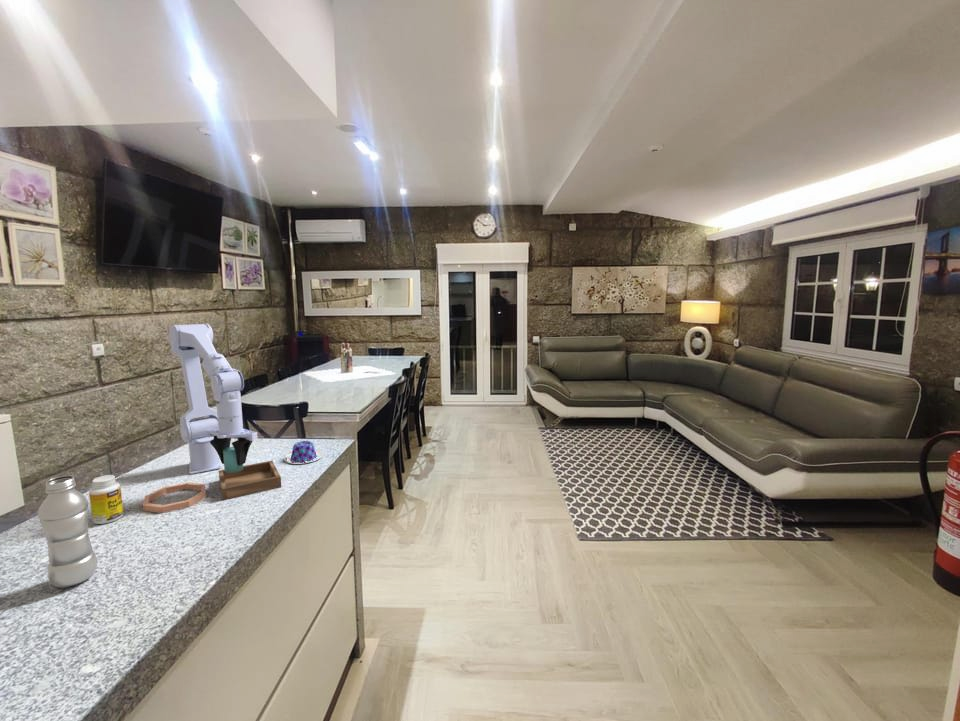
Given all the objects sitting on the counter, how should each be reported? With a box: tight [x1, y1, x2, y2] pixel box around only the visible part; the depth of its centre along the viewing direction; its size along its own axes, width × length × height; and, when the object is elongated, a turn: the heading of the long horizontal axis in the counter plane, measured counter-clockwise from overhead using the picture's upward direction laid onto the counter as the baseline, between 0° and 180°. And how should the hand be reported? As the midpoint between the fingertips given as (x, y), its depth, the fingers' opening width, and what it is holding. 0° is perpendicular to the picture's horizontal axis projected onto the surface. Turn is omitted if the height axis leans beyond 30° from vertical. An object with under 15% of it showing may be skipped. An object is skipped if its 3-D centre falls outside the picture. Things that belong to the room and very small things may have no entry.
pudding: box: [283, 440, 324, 465], centre depth 138 cm, size 12×12×5 cm
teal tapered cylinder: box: [223, 446, 244, 473], centre depth 117 cm, size 4×6×6 cm
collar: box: [142, 481, 207, 514], centre depth 110 cm, size 13×13×2 cm
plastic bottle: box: [37, 474, 98, 589], centre depth 77 cm, size 6×7×20 cm
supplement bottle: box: [88, 474, 124, 525], centre depth 99 cm, size 6×6×10 cm
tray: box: [218, 460, 282, 501], centre depth 119 cm, size 14×14×3 cm
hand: (233, 463), depth 116 cm, fingers closed on teal tapered cylinder, 4 cm apart
